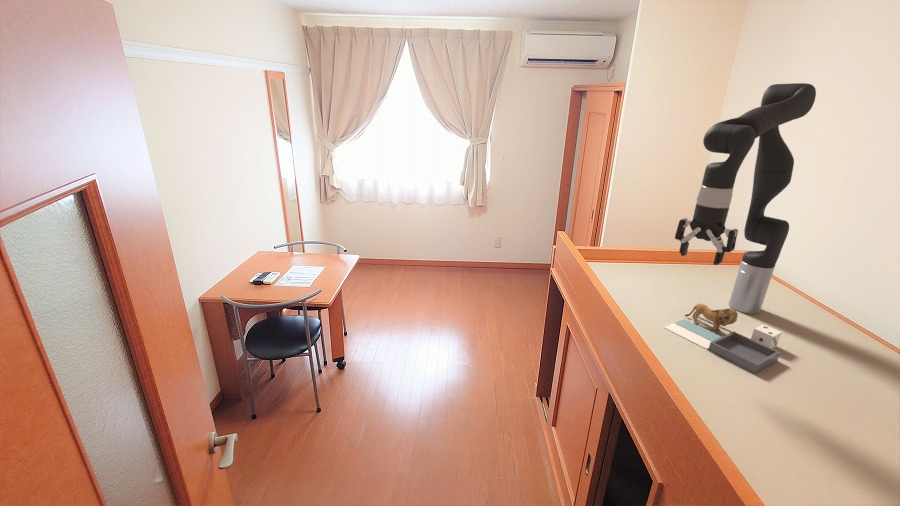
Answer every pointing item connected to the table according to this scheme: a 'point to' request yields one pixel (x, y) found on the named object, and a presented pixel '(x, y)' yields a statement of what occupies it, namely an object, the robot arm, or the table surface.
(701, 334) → the track
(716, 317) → the lion figurine
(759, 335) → the die
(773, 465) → the table surface
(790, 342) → the table surface
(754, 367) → the dice tray
